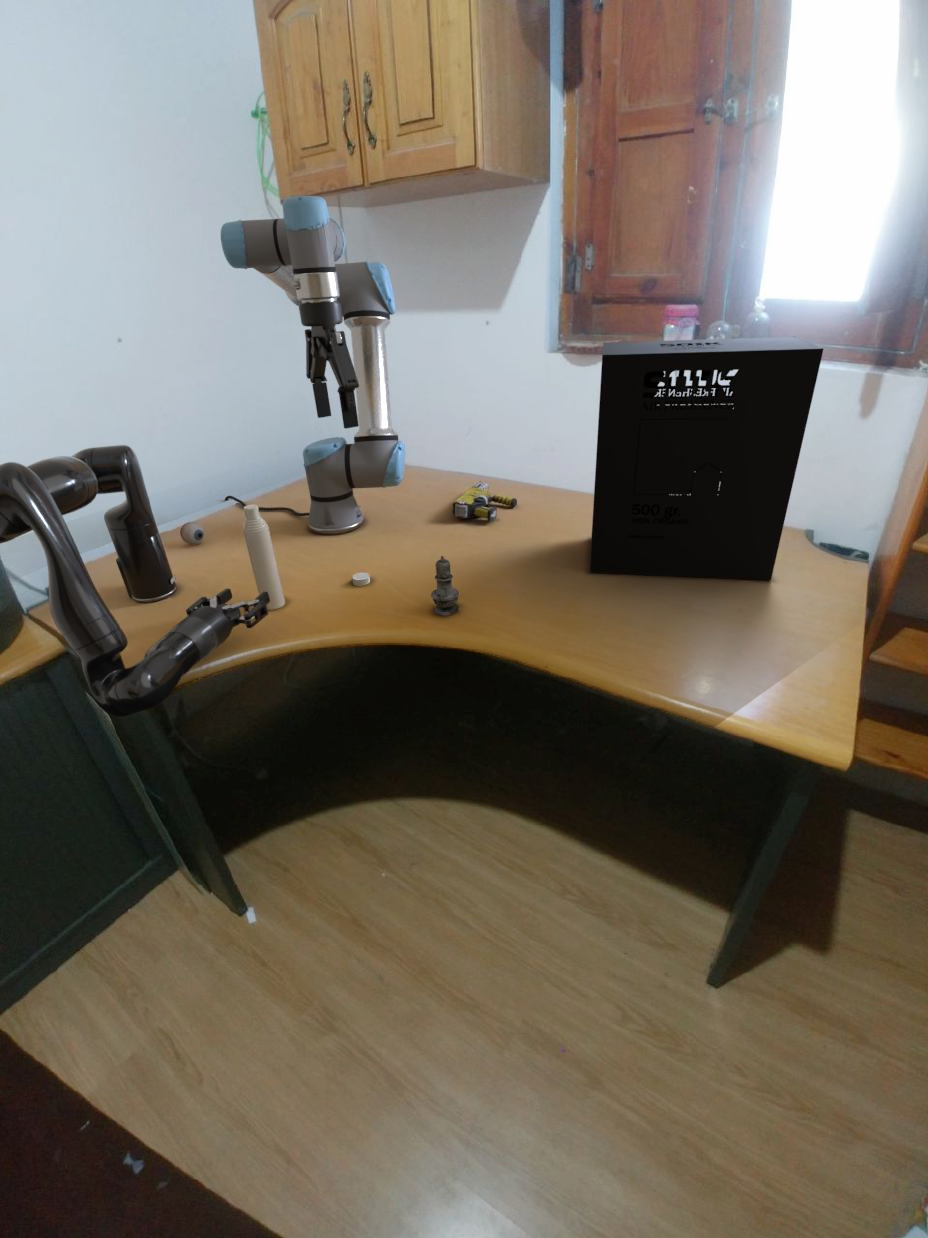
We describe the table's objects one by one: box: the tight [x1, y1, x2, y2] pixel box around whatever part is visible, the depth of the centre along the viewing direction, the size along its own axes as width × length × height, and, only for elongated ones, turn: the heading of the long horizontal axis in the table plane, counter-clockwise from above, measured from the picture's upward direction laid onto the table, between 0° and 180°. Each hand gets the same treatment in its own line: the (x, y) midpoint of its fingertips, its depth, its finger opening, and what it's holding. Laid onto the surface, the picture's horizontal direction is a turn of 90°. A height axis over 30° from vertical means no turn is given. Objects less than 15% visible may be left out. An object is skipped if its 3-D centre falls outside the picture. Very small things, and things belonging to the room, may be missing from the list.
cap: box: [352, 572, 371, 587], centre depth 137 cm, size 4×4×2 cm
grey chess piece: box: [430, 555, 461, 616], centre depth 121 cm, size 6×6×12 cm
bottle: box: [242, 503, 287, 611], centre depth 124 cm, size 5×5×22 cm
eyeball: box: [179, 521, 206, 546], centre depth 161 cm, size 6×6×6 cm
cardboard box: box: [589, 336, 824, 581], centre depth 128 cm, size 38×20×45 cm, turn 78°
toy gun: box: [451, 480, 518, 523], centre depth 174 cm, size 5×24×15 cm
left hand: (248, 594), depth 121 cm, fingers open, 8 cm apart
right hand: (337, 421), depth 119 cm, fingers open, 13 cm apart
